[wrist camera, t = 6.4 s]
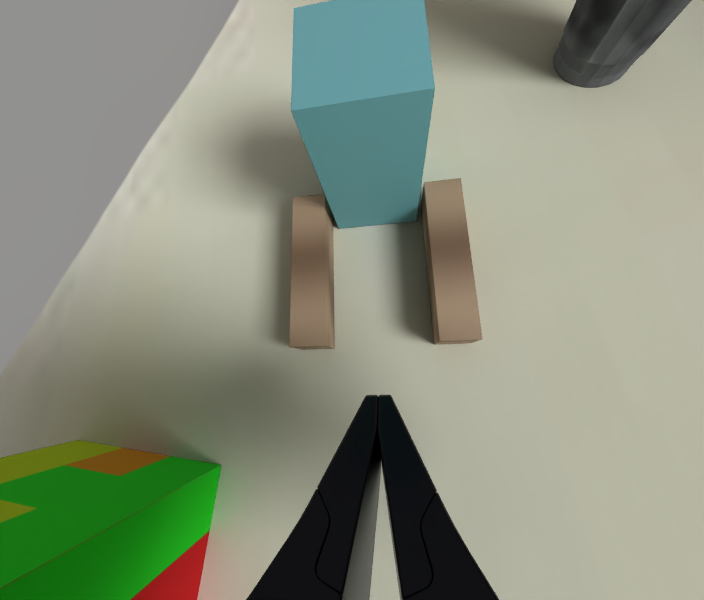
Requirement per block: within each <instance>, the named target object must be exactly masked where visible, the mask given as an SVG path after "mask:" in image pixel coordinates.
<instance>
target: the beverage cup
mask: <svg viewBox="0 0 704 600" xmlns="http://www.w3.org/2000/svg"><path fill="white" fill-rule="evenodd" d="M690 2H691V0H576V3H575V5H574V8H573V10H572V12H571V15H570V17H569V20H568V22H567V24H566V27H565V29H564V34H563V37H562V39H561V42H560V44H559V47H558V49H557V52H556V54H555V56H554V66H555V68H556V71H557V73H558V74H559V75H560V76H561V77H562V78H563V79H564V80H566V81H568V82H570V83H572V84H574V85H578V86H582V87H600V86H604V85H608V84H611V83H613V82H614V81H616V80H618V79H620V78H621V77H622V76H623V74H624V73H625V72H626V71H627V70H628V69H629V67H630V66H631V65H632V64H633V63H634V62H635V61H636V60H637V59H638V58H639V57H640V56H641V55H643V53H644V52H645V51H646V50H647V49H648V48H649V47H650V46H651V45H652V44H653V43H654V42H655V41H656V39H657V38H658V37H659V36H660V35H661V34H662V33H663V32H664V31H665V29H666V28H667V27H668V26H669V25H670V24H671V23H672V22H673V20H674V19H675V18H676V17H677V16H678V15H679V14H680V13H681V12H682V10H683V9H684V8H685V7H686V6H687V5H688V4H689V3H690Z"/></svg>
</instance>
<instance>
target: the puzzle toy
mask: <svg viewBox="0 0 704 600" xmlns="http://www.w3.org/2000/svg"><path fill="white" fill-rule="evenodd" d="M220 469H221V465H218V464H212V463H207V462H201V461H195V460H189V459H184V458H178V457H172V456H166V455H161V454H155V453H149V452H143V451H138V450H132V449H126V448H120V447H115V446H109V445H103V444H97V443H92V442H86V441H80V440H77V441H73V442H68V443H64V444H59V445H55V446H51V447H46V448H42V449H37V450H33V451H29V452H24V453H20V454H15V455H11V456H7V457H2V458H0V600H197V597H198V592H199V586H200V580H201V575H202V569H203V564H204V558H205V553H206V547H207V542H208V536H209V530H210V525H211V519H212V514H213V508H214V503H215V497H216V492H217V486H218V480H219V475H220Z"/></svg>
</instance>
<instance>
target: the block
mask: <svg viewBox="0 0 704 600" xmlns="http://www.w3.org/2000/svg"><path fill="white" fill-rule="evenodd" d="M434 90H435V86H434V77H433V69H432V61H431V52H430V44H429V36H428V28H427V19H426V11H425V3H424V0H332V1H327V2H322V3H317V4H313V5H308V6H303V7H298V8H294V22H293V58H292V95H291V112H292V114H293V117H294V119H295V122H296V124H297V127H298V129H299V131H300V134H301V136H302V139H303V141H304V144H305V146H306V149H307V151H308V154H309V156H310V159H311V161H312V164H313V166H314V168H315V171H316V173H317V176H318V178H319V181H320V183H321V186H322V188H323V191H324V193H325V196H326V198H327V201H328V203H329V205H330V208H331V210H332V213H333V215H334V218H335V220H336V223H337V225H338V228H339V229H340V228H351V227H361V226H371V225H382V224H392V223H402V222H413V221H416V218H417V211H418V204H419V197H420V190H421V183H422V176H423V168H424V161H425V154H426V147H427V140H428V133H429V126H430V119H431V111H432V104H433V97H434Z"/></svg>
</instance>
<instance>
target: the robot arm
mask: <svg viewBox="0 0 704 600" xmlns="http://www.w3.org/2000/svg"><path fill="white" fill-rule="evenodd" d="M381 461H382V469H383V477H384V484H385V491H386V499H387V506H388V513H389V520H390V528H391V535H392V542H393V550H394V557H395V564H396V571H397V579H398V586H399V593H400V600H499V599H498V597H497V595H496V594H495V592H494V591H493V589H492V587H491V586H490V584H489V582H488V581H487V579H486V578H485V576H484V574H483V573H482V571H481V569H480V568H479V566H478V565H477V563H476V561H475V560H474V558H473V556H472V555H471V553H470V552H469V550H468V548H467V547H466V545H465V543H464V541H463V540H462V538H461V536H460V534H459V533H458V531H457V529H456V528H455V526H454V524H453V522H452V520H451V518H450V516H449V514H448V512H447V510H446V508H445V506H444V504H443V502H442V500H441V498H440V496H439V494H438V493H437V490H436V488H435V486H434V484H433V482H432V480H431V478H430V475H429V473H428V471H427V469H426V467H425V465H424V463H423V461H422V459H421V457H420V455H419V453H418V451H417V448H416V446H415V444H414V442H413V440H412V438H411V436H410V434H409V432H408V430H407V428H406V426H405V423H404V421H403V419H402V417H401V415H400V413H399V411H398V409H397V407H396V405H395V403H394V401H393V399H392V397H391V395H379V397H378V396H377V395H367V396H366V397H365V398H364V400H363V402H362V404H361V406H360V408H359V409H358V411H357V413H356V415H355V417H354V419H353V421H352V423H351V425H350V426H349V428H348V430H347V432H346V434H345V436H344V438H343V440H342V442H341V443H340V445H339V447H338V449H337V451H336V453H335V455H334V457H333V459H332V460H331V462H330V464H329V466H328V468H327V470H326V472H325V474H324V476H323V477H322V479H321V481H320V483H319V485H318V489H316V490H315V492H314V494H313V496H312V498H311V500H310V502H309V504H308V505H307V507H306V509H305V511H304V512H303V514H302V516H301V518H300V520H299V521H298V523H297V524H296V526H295V527H294V529H293V531H292V532H291V534H290V535H289V537H288V539H287V540H286V542H285V543H284V545H283V546H282V548H281V549H280V551H279V552H278V554H277V555H276V557H275V558H274V560H273V561H272V563H271V564H270V566H269V567H268V569H267V570H266V572H265V573H264V575H263V576H262V578H261V579H260V581H259V582H258V584H257V585H256V586H255V588H254V589H253V591H252V592H251V594H250V595H249V597H248V598H247V599H246V600H369V597H370V586H371V575H372V564H373V553H374V542H375V531H376V520H377V509H378V498H379V486H380V475H381Z"/></svg>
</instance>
